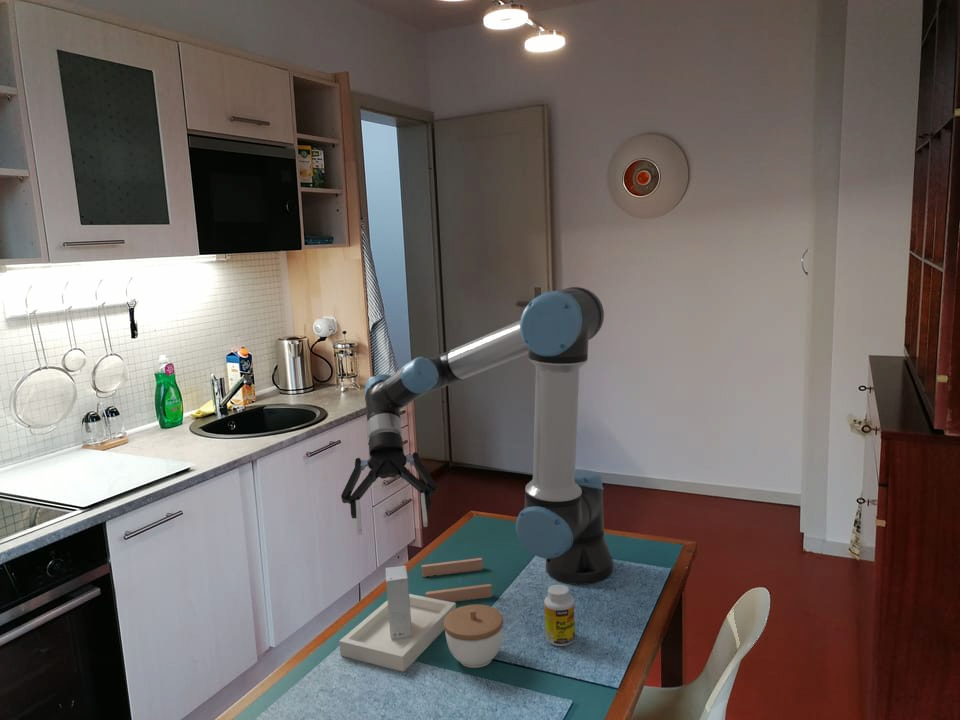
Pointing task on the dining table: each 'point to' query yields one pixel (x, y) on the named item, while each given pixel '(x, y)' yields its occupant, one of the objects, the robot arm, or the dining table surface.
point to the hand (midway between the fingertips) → (392, 528)
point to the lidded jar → (474, 634)
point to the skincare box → (398, 602)
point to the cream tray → (399, 653)
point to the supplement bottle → (559, 616)
